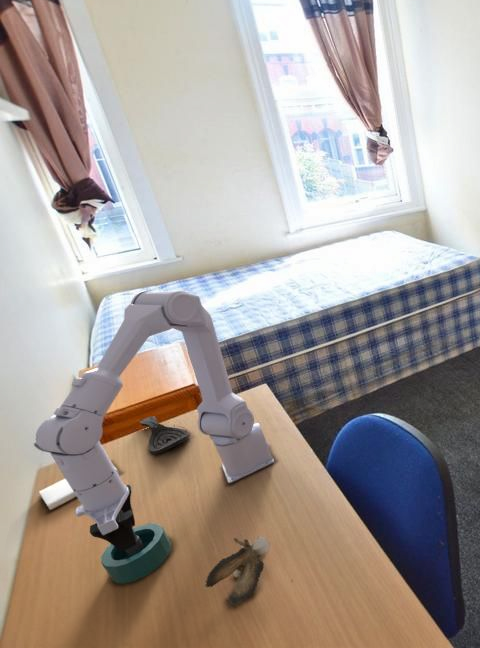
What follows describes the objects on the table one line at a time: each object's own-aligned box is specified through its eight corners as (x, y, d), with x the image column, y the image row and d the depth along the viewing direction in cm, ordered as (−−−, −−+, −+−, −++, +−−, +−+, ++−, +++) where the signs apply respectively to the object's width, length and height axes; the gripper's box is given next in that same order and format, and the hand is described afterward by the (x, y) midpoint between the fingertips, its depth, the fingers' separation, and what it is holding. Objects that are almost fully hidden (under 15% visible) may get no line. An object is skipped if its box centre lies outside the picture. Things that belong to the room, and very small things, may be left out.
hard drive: (41, 496, 104) (108, 462, 113) (51, 511, 99) (120, 474, 108) (38, 491, 103) (105, 456, 112) (47, 505, 99) (117, 468, 108)
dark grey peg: (148, 550, 86) (122, 506, 82) (149, 558, 85) (123, 513, 80) (132, 558, 85) (105, 513, 81) (133, 566, 83) (105, 521, 79)
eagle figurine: (226, 555, 83) (196, 596, 74) (240, 523, 82) (211, 561, 73) (268, 569, 84) (243, 612, 75) (282, 538, 83) (259, 577, 74)
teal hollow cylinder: (169, 531, 91) (160, 515, 89) (173, 561, 84) (164, 544, 83) (111, 559, 86) (101, 543, 84) (111, 593, 79) (100, 577, 78)
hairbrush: (159, 404, 130) (192, 429, 115) (164, 415, 131) (198, 441, 116) (123, 420, 124) (154, 449, 109) (129, 432, 126) (160, 461, 110)
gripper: (65, 468, 81) (101, 525, 86) (58, 517, 70) (99, 579, 75) (116, 448, 84) (147, 504, 90) (117, 491, 74) (151, 552, 79)
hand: (128, 537), depth 83 cm, fingers open, 5 cm apart
